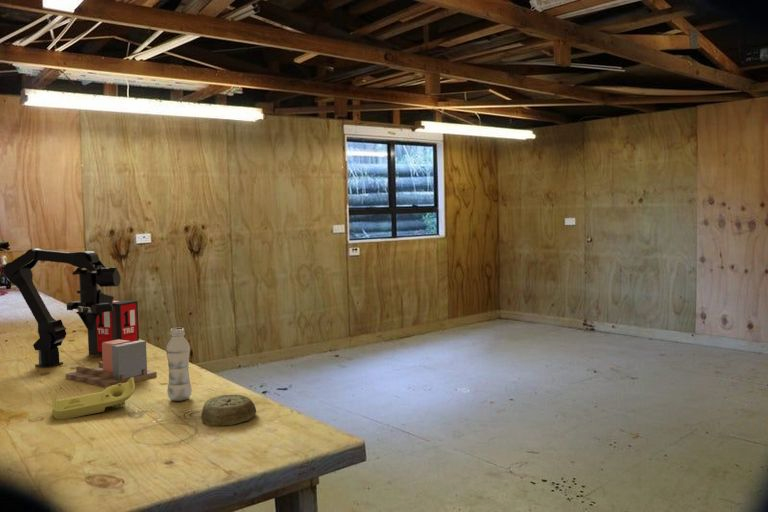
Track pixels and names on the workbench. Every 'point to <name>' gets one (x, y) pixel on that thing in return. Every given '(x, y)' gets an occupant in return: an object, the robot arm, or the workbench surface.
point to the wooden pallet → (103, 376)
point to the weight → (227, 410)
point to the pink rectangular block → (109, 353)
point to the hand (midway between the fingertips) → (90, 331)
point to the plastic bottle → (178, 366)
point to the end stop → (129, 359)
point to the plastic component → (93, 401)
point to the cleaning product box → (114, 326)
